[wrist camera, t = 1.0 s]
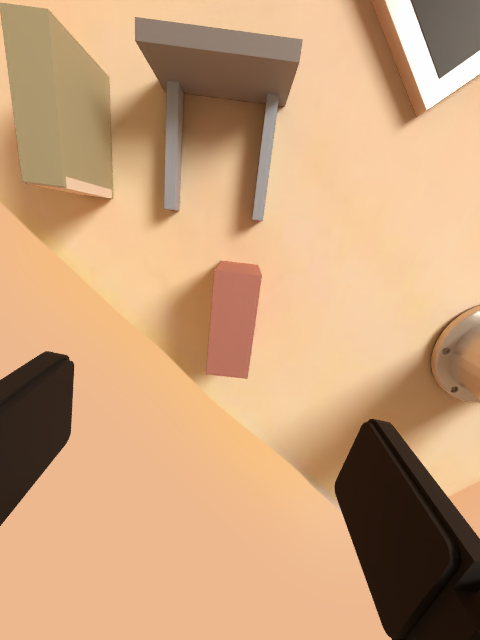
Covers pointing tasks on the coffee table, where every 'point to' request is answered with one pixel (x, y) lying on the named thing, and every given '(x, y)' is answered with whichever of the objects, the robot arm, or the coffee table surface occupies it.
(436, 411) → the coffee table surface
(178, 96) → the shelf slot
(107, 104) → the olive rectangular block
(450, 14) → the picture frame
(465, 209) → the coffee table surface
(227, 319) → the reddish pink rectangular block
